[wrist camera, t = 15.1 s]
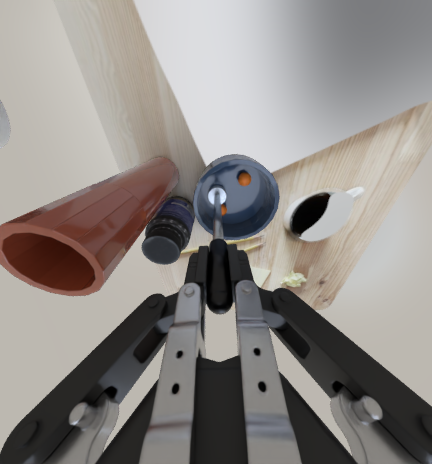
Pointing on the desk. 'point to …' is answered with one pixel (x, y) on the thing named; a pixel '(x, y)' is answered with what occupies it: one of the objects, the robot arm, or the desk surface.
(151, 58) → the desk surface
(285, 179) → the desk surface
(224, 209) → the bead
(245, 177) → the bead
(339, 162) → the desk surface
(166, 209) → the pill bottle
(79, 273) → the crock
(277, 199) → the bowl
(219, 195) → the ladle
